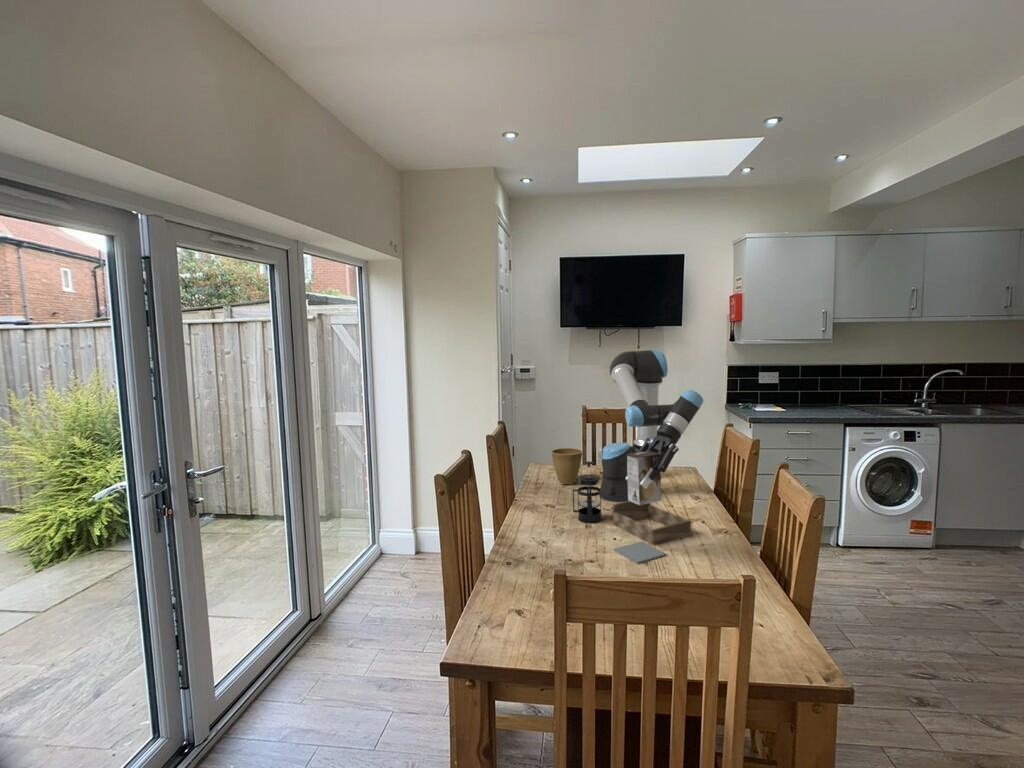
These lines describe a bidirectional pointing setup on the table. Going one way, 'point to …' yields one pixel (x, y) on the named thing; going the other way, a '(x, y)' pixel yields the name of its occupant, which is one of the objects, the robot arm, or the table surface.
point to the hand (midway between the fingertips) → (635, 483)
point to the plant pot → (567, 464)
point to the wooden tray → (630, 512)
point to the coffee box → (636, 472)
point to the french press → (588, 498)
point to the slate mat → (640, 552)
